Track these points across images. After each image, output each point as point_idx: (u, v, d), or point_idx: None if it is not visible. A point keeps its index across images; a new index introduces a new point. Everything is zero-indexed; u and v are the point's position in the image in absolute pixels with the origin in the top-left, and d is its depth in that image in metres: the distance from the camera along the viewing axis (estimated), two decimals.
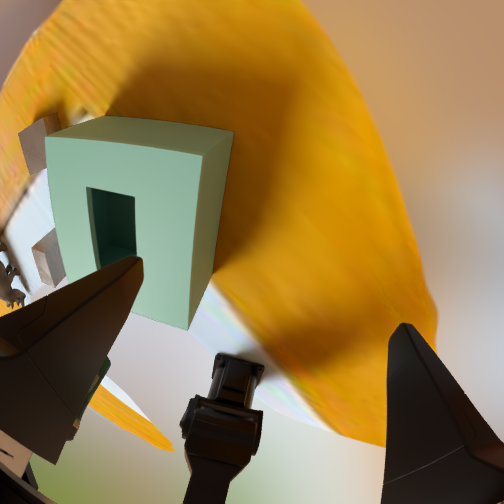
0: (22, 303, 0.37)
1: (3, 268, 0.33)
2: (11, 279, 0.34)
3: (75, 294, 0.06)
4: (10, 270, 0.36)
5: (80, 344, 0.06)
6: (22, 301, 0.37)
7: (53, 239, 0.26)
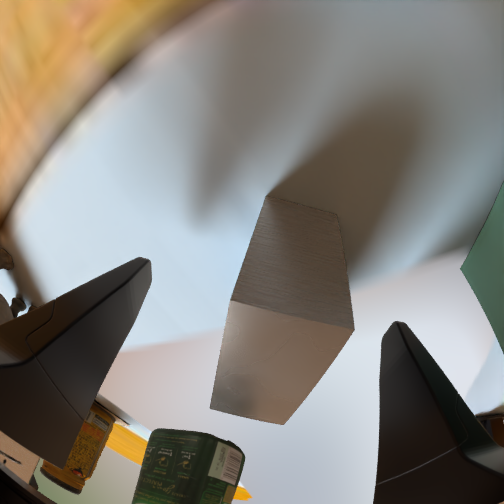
0: None
1: (6, 311, 0.13)
2: None
3: (84, 298, 0.06)
4: (20, 308, 0.16)
5: (89, 348, 0.06)
6: None
7: (316, 249, 0.07)
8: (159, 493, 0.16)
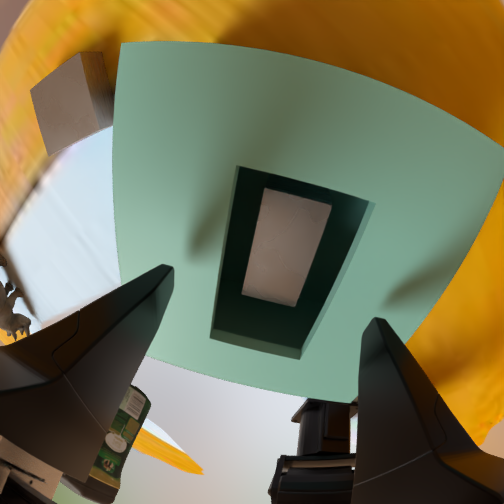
0: (27, 331, 0.29)
1: (2, 289, 0.24)
2: (13, 303, 0.26)
3: (110, 308, 0.06)
4: (10, 289, 0.27)
5: (116, 360, 0.06)
6: (27, 329, 0.28)
7: None
8: None
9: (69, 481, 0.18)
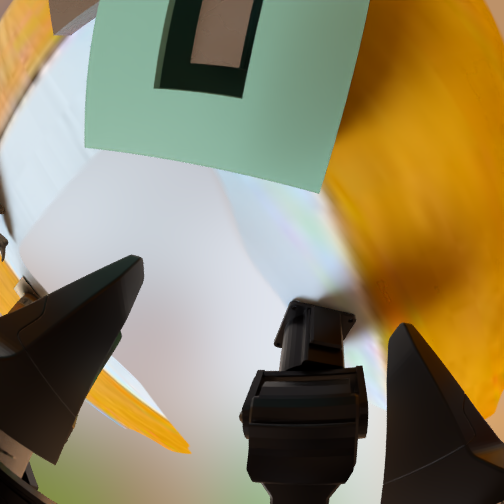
0: (2, 252, 0.27)
1: None
2: None
3: (75, 294, 0.06)
4: None
5: (80, 344, 0.06)
6: (3, 249, 0.27)
7: None
8: None
9: None
